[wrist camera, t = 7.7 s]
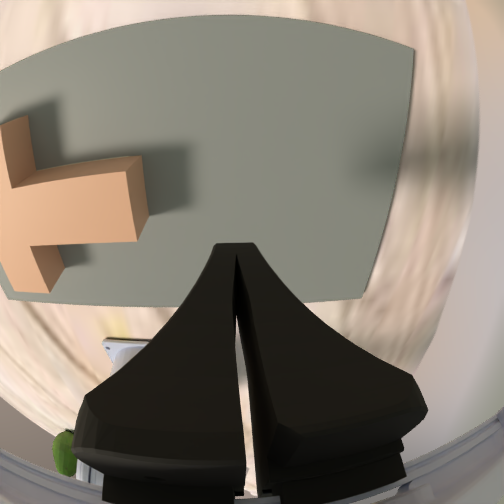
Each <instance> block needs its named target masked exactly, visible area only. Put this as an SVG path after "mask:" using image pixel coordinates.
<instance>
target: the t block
mask: <svg viewBox="0 0 504 504" xmlns="http://www.w3.org/2000/svg"><path fill="white" fill-rule="evenodd" d="M148 218H149V212H148V205H147V198H146V190H145V182H144V173H143V164H142V155H139V156H129V157H120V158H112V159H104V160H97V161H90V162H83V163H77V164H71V165H65V166H60V167H54V168H49V169H44V170H39V171H36V166H35V160H34V155H33V149H32V142H31V136H30V128H29V119H28V115H26V116H23V117H20V118H18V119H15V120H12V121H9V122H7V123H4V124H2V125H0V262H1V264H2V266H3V268H4V271H5V273H6V275H7V277H8V279H9V281H10V283H11V285H12V287H13V289H14V291H18V292H33V293H50V292H51V291H52V289H53V287H54V285H55V284H56V282H57V280H58V279H59V277H60V276H61V274H62V272H63V271H64V269H65V266H64V264H63V261H62V258H61V256H60V253H59V250H58V247H57V245H62V244H86V243H112V242H137V241H138V239H139V237H140V235H141V233H142V230H143V228H144V226H145V224H146V222H147V220H148Z"/></svg>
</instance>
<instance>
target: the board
mask: <svg viewBox="0 0 504 504" xmlns="http://www.w3.org/2000/svg"><path fill="white" fill-rule="evenodd" d="M413 51H414V49H412V48H410V47H407V46H404V45H402V44H399V43H396V42H393V41H390V40H387V39H384V38H380V37H377V36H374V35H370V34H367V33H363V32H359V31H355V30H351V29H347V28H342V27H338V26H333V25H328V24H323V23H317V22H311V21H304V20H297V19H289V18H279V17H268V16H250V15H209V16H191V17H180V18H170V19H162V20H155V21H149V22H143V23H137V24H132V25H127V26H122V27H117V28H113V29H109V30H105V31H101V32H97V33H94V34H90V35H87V36H84V37H80V38H77V39H74V40H71V41H68V42H65V43H62V44H60V45H57V46H54V47H52V48H49V49H47V50H44V51H42V52H39V53H37V54H35V55H32V56H30V57H28V58H26V59H24V60H21V61H19V62H17V63H15V64H13V65H11V66H9V67H7V68H5V69H4V70H2V71H0V125H2V124H4V123H7V122H9V121H12V120H15V119H18V118H20V117H23V116H26V115H28V119H29V128H30V136H31V142H32V149H33V155H34V160H35V166H36V171H39V170H44V169H49V168H54V167H60V166H65V165H71V164H77V163H83V162H90V161H97V160H104V159H112V158H120V157H129V156H139V155H142V164H143V173H144V182H145V190H146V198H147V205H148V212H149V218H148V220H147V222H146V224H145V226H144V228H143V230H142V233H141V235H140V237H139V239H138V241H137V242H112V243H86V244H62V245H57V247H58V250H59V253H60V256H61V258H62V261H63V264H64V266H65V269H64V271H63V272H62V274H61V276H60V277H59V279H58V280H57V282H56V284H55V285H54V287H53V289H52V291H51V292H50V293H33V292H18V291H14V289H13V287H12V285H11V283H10V281H9V279H8V277H7V275H6V273H5V271H4V268H3V266H2V264H1V262H0V285H1V287H2V289H3V291H4V293H5V294H6V296H7V298H8V299H9V300H19V301H30V302H42V303H56V304H73V305H93V306H121V307H180V305H181V304H182V303H183V301H184V300H185V298H186V297H187V295H188V294H189V292H190V291H191V289H192V288H193V286H194V285H195V283H196V281H197V280H198V278H199V276H200V274H201V272H202V271H203V269H204V267H205V265H206V263H207V261H208V259H209V257H210V254H211V252H212V249H213V246H214V245H215V244H216V243H245V242H253V243H254V244H255V245H256V246H257V247H258V249H259V251H260V252H261V254H262V255H263V257H264V258H265V260H266V261H267V262H268V264H269V265H270V267H271V268H272V269H273V270H274V272H275V273H276V274H277V275H278V277H279V278H280V279H281V280H282V282H283V283H284V284H285V285H286V286H287V287H288V288H289V289H290V291H291V292H292V293H293V294H294V295H295V296H296V297H297V298H298V299H299V300H300V301H301V302H302V303H310V302H324V301H337V300H349V299H360V298H362V296H363V293H364V290H365V287H366V284H367V281H368V279H369V276H370V273H371V270H372V267H373V263H374V260H375V257H376V254H377V251H378V247H379V244H380V241H381V237H382V234H383V230H384V227H385V223H386V219H387V215H388V212H389V208H390V204H391V200H392V196H393V191H394V187H395V183H396V178H397V173H398V169H399V164H400V158H401V153H402V148H403V142H404V136H405V130H406V123H407V116H408V109H409V101H410V91H411V81H412V69H413Z"/></svg>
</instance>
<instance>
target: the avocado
mask: <svg viewBox="0 0 504 504" xmlns="http://www.w3.org/2000/svg"><path fill="white" fill-rule="evenodd" d="M73 435H74V434H73V433H71V432H68V431H64V432H61V433H60V434H58V435H57V436H56V438H55V440H54V441H53V448H52V450H53V456H54V460H55V464H56V468H57V470H58V472H59V473H60V474H62V475H65V476H68V477H71V476H73V475H74V474H75V473H76V471H77V460H78V459H77V458H76V457H75V456H74V454H73V453H72V451H71V446H72V440H73Z"/></svg>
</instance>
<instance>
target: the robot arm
mask: <svg viewBox="0 0 504 504" xmlns="http://www.w3.org/2000/svg"><path fill="white" fill-rule="evenodd" d="M236 315H237V321H238V327H239V332H240V338H241V344H242V349H243V355H244V360H245V365H246V371H247V378H248V389H249V401H250V412H251V424H252V436H253V448H254V460H255V472H256V484H257V494H258V498H250V499H235V496H244V486H245V477H246V454H245V443H244V432H243V423H242V414H241V405H240V395H239V385H238V375H237V364H236V352H235V337H236ZM102 345H103V347H104V349H105V351H106V352H107V354H108V356H109V358H110V359H111V361H112V363H113V366H112V370H111V374H110V377H109V378H108V379H106V380H105V381H104V382H102V383H101V384H100V385H98V386H97V387H96V388H94V389H93V390H92V391H90V392H89V393H87V394H86V395H85V397H84V400H83V403H82V405H81V408H80V410H79V413H78V417H77V420H76V425H75V430H74V435H73V440H72V446H71V451H72V453H73V454H74V456H75V457H76V458H77V459H78V460H77V471H76V473H77V474H76V479H74V478H71V477H68V476H65V475H62V474H59V473H56V472H53V471H51V470H48V469H45V468H43V467H40V466H38V465H35V464H33V463H31V462H28V461H26V460H24V459H22V458H19V457H17V456H15V455H13V454H11V453H9V452H7V451H5V450H3V449H1V448H0V504H349V503H353V502H356V501H359V500H363V499H365V498H369V497H371V496H375V495H377V494H380V493H383V492H386V491H388V490H391V489H393V488H396V487H398V486H401V485H402V486H401V487H400V488H399V489H398V492H397V494H396V495H395V496H392V497H390V498H386V499H384V500H381V501H378V502H375V503H372V504H497V503H498V502H499V500H500V499H501V498H502V497H503V496H504V407H503V408H501V409H500V410H499V411H498V412H497V414H495V415H494V416H492V417H491V418H489V419H488V420H486V421H485V422H483V423H482V424H480V425H479V426H477V427H475V428H474V429H472V430H470V431H469V432H467V433H465V434H463V435H462V436H460V437H458V438H456V439H455V440H453V441H451V442H449V443H447V444H445V445H443V446H441V447H439V448H437V449H435V450H433V451H431V452H429V453H427V454H425V455H423V456H420V457H418V458H416V459H414V460H411V461H409V462H406V463H404V464H403V462H402V459H401V456H400V453H401V452H403V451H404V446H403V443H402V440H401V438H402V437H403V436H405V435H406V434H407V433H408V432H410V431H411V430H412V429H413V428H415V427H416V425H418V424H419V423H420V422H421V421H422V420H423V419H424V418H425V416H426V414H427V412H428V408H427V405H426V403H425V401H424V398H423V396H422V393H421V391H420V389H419V387H418V385H417V383H416V381H415V379H414V378H413V376H412V375H411V374H409V373H407V372H405V371H403V370H401V369H399V368H397V367H395V366H393V365H391V364H389V363H387V362H385V361H383V360H381V359H379V358H377V357H375V356H373V355H372V354H370V353H368V352H367V351H365V350H363V349H362V348H360V347H358V346H357V345H355V344H354V343H352V342H351V341H349V340H348V339H346V338H345V337H343V336H342V335H341V334H339V333H338V332H336V331H335V330H334V329H332V328H331V327H330V326H328V325H327V324H326V323H324V322H323V321H322V320H321V319H319V318H318V317H317V316H316V315H315V314H314V313H313V312H312V311H310V310H309V309H308V308H307V307H306V306H305V305H304V304H303V303H302V302H301V301H300V300H299V299H298V298H297V297H296V296H295V295H294V294H293V293H292V292H291V291H290V289H289V288H288V287H287V286H286V285H285V284H284V283H283V282H282V280H281V279H280V278H279V277H278V275H277V274H276V273H275V272H274V270H273V269H272V268H271V267H270V265H269V264H268V262H267V261H266V260H265V258H264V257H263V255H262V254H261V252H260V251H259V249H258V247H257V246H256V245H255V244H254V243H253V242H245V243H216V244H215V245H214V246H213V249H212V252H211V254H210V257H209V259H208V261H207V263H206V265H205V267H204V269H203V271H202V272H201V274H200V276H199V278H198V280H197V281H196V283H195V285H194V286H193V288H192V289H191V291H190V292H189V294H188V295H187V297H186V298H185V300H184V301H183V303H182V304H181V305H180V307H179V308H178V309H177V311H176V312H175V313H174V314H173V316H172V317H171V318H170V319H169V321H168V322H167V323H166V324H165V325H164V326H163V327H162V329H161V330H160V331H159V332H158V333H157V334H156V335H155V336H154V337H153V339H152V340H151V341H150V342H146V341H125V340H110V339H104V340H103V341H102Z"/></svg>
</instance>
